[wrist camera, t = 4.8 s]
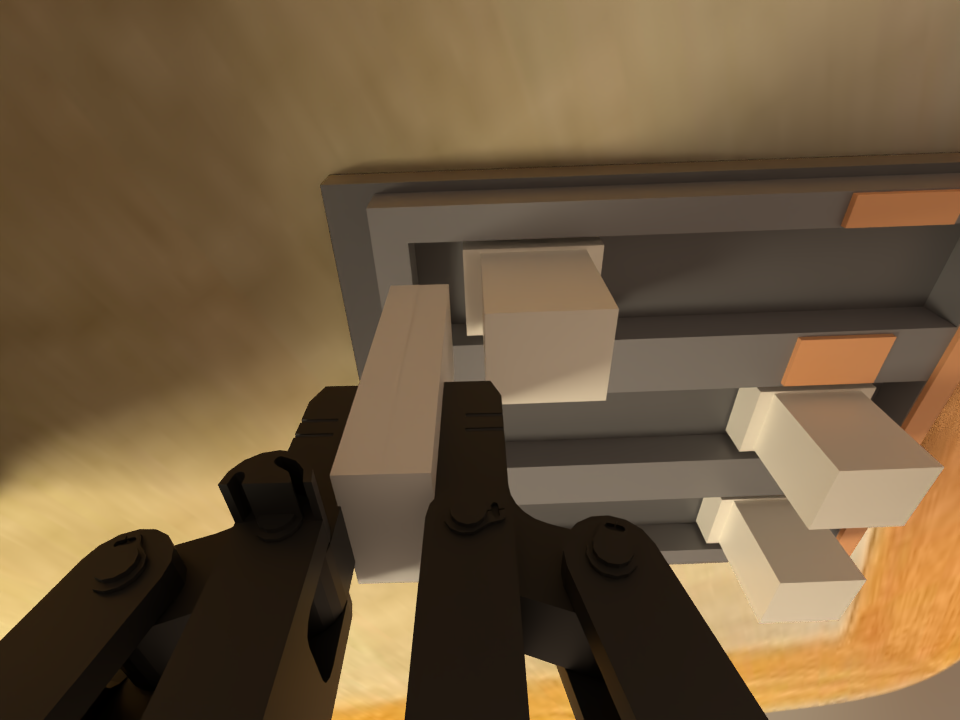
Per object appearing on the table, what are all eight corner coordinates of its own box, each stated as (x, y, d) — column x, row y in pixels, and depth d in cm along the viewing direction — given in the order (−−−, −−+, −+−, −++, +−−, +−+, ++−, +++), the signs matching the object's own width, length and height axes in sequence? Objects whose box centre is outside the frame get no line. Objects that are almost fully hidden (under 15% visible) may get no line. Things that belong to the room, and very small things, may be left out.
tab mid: (725, 430, 20) (792, 532, 16) (744, 372, 18) (822, 469, 14) (826, 426, 20) (918, 527, 16) (853, 367, 18) (963, 464, 14)
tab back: (695, 520, 23) (745, 625, 19) (710, 477, 21) (766, 582, 17) (783, 517, 23) (850, 621, 19) (803, 474, 21) (882, 577, 17)
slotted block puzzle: (397, 530, 25) (389, 583, 22) (329, 174, 15) (305, 201, 13) (839, 513, 25) (878, 564, 22) (1045, 149, 15) (1150, 171, 13)
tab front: (466, 317, 17) (466, 409, 13) (462, 235, 15) (461, 310, 11) (586, 312, 17) (624, 402, 13) (595, 230, 15) (642, 304, 11)
